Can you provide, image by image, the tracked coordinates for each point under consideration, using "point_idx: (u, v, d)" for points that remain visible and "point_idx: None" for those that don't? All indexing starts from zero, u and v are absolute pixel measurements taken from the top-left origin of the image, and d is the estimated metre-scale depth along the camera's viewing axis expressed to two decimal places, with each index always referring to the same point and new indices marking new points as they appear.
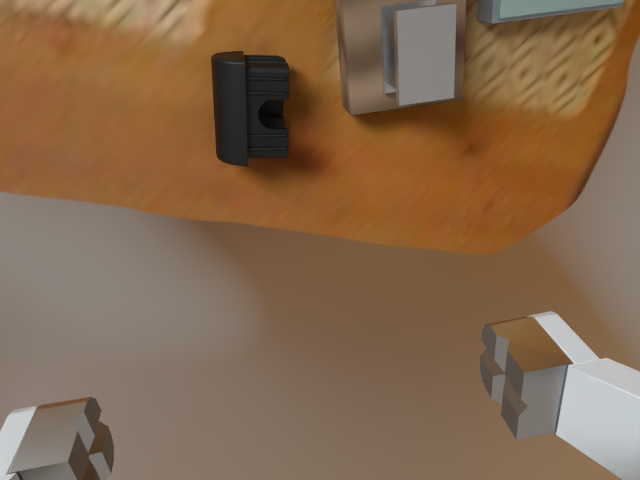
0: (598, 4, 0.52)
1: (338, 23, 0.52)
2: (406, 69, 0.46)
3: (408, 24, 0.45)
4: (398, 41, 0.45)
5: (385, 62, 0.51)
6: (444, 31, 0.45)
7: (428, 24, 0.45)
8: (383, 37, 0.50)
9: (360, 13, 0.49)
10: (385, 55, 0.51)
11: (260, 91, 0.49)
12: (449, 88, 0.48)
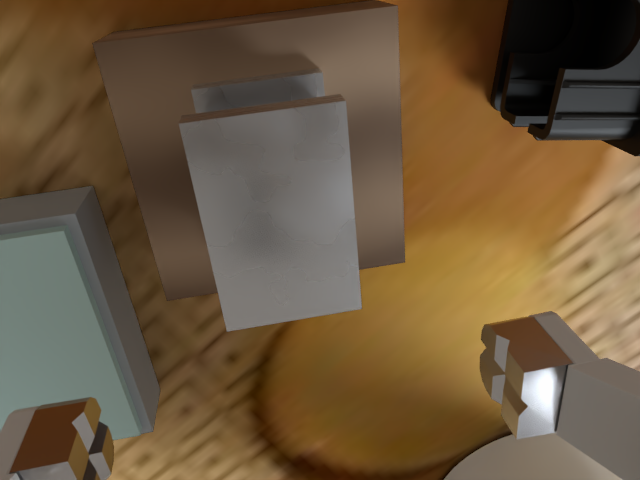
0: None
1: None
2: (331, 195, 0.18)
3: (334, 287, 0.20)
4: (355, 254, 0.19)
5: None
6: (244, 280, 0.19)
7: (286, 290, 0.19)
8: None
9: (371, 223, 0.25)
10: None
11: (620, 88, 0.22)
12: (199, 150, 0.16)
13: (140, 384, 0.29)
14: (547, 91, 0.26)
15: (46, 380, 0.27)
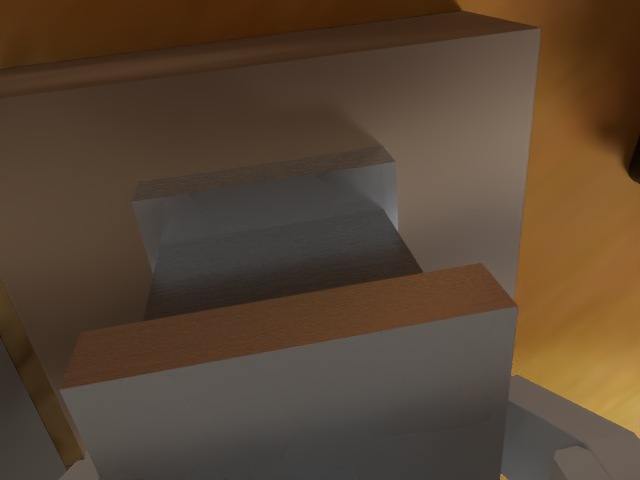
0: None
1: None
2: None
3: None
4: None
5: None
6: None
7: None
8: None
9: None
10: None
11: None
12: (125, 439, 0.06)
13: None
14: None
15: None
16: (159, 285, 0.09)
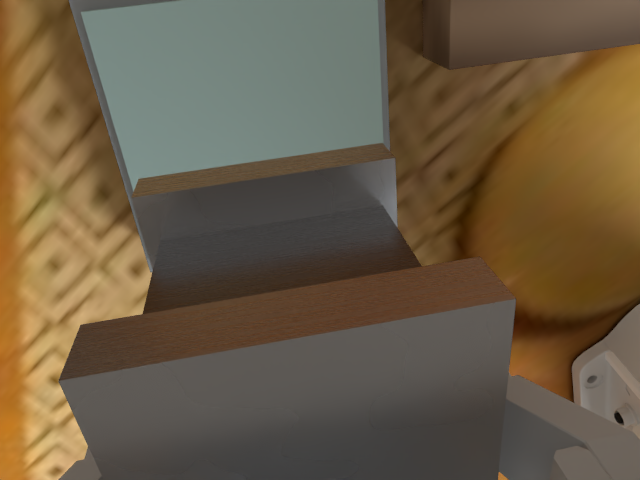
0: (143, 7, 0.23)
1: None
2: None
3: None
4: None
5: None
6: None
7: None
8: None
9: None
10: None
11: None
12: (124, 432, 0.06)
13: None
14: None
15: None
16: (159, 280, 0.09)
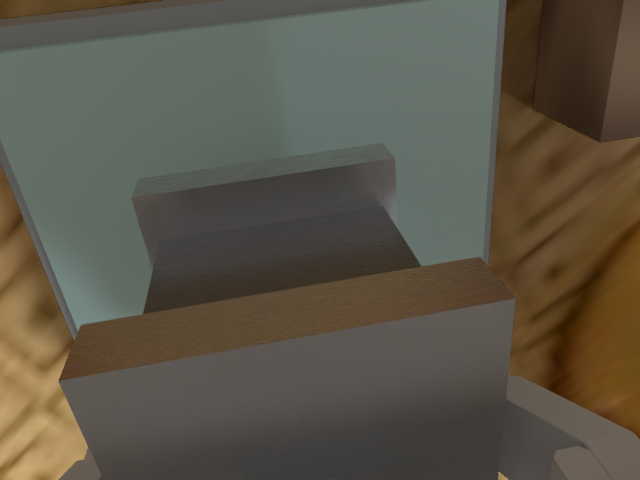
0: (83, 47, 0.12)
1: None
2: None
3: None
4: None
5: None
6: None
7: None
8: None
9: None
10: None
11: None
12: (124, 431, 0.06)
13: None
14: None
15: None
16: (159, 280, 0.09)
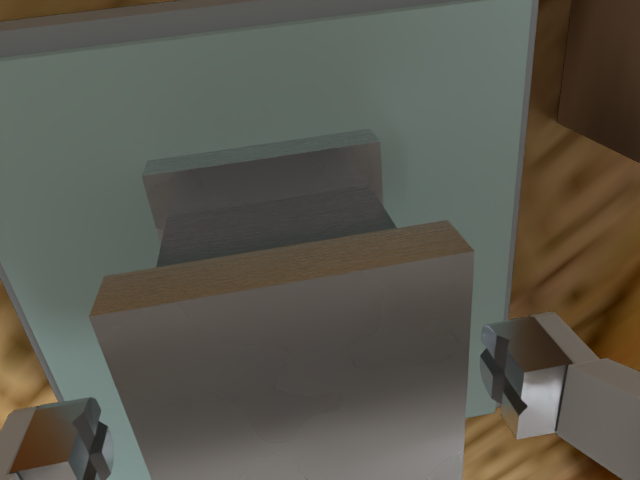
0: (50, 60, 0.11)
1: None
2: (423, 420, 0.09)
3: None
4: None
5: None
6: None
7: None
8: None
9: None
10: None
11: None
12: (142, 364, 0.07)
13: None
14: None
15: None
16: (167, 249, 0.10)
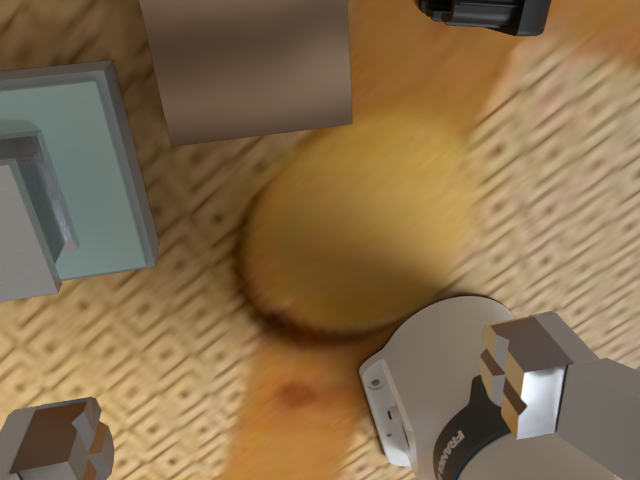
0: None
1: None
2: (15, 221, 0.28)
3: (33, 279, 0.30)
4: (43, 257, 0.29)
5: (50, 182, 0.33)
6: None
7: None
8: (62, 214, 0.34)
9: (326, 89, 0.34)
10: (52, 191, 0.33)
11: None
12: None
13: (146, 226, 0.37)
14: None
15: (74, 211, 0.35)
16: None
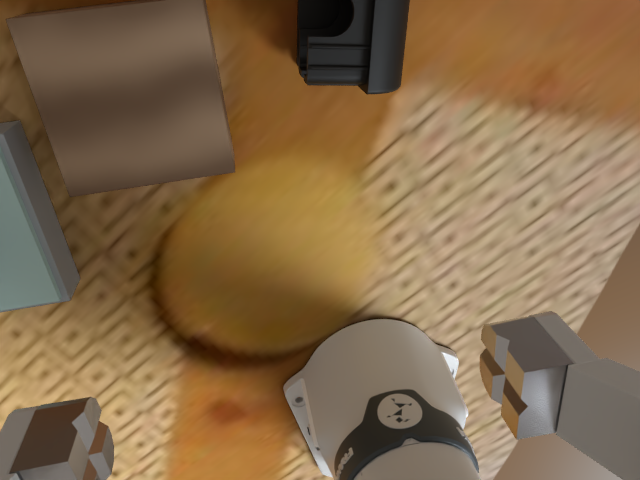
0: None
1: (226, 115, 0.40)
2: None
3: None
4: None
5: None
6: None
7: None
8: None
9: (206, 142, 0.38)
10: None
11: (348, 49, 0.34)
12: None
13: (59, 264, 0.42)
14: None
15: None
16: None
